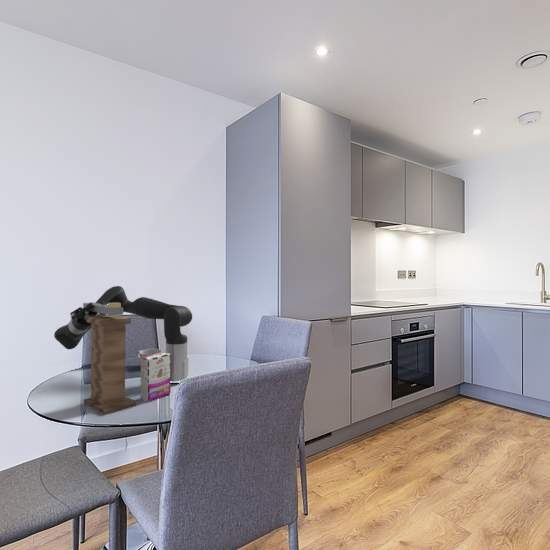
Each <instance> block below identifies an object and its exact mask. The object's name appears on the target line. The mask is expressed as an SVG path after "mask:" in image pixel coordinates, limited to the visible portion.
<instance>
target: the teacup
mask: <svg viewBox="0 0 550 550" xmlns="http://www.w3.org/2000/svg"><path fill="white" fill-rule="evenodd" d="M158 353H162V350H161V349H158V348H148V349H143V350H137V352H136V357H137V359H138V360H139V364H140V365H141V358H142V357H146V356H150V355H154V354H158Z"/></svg>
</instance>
